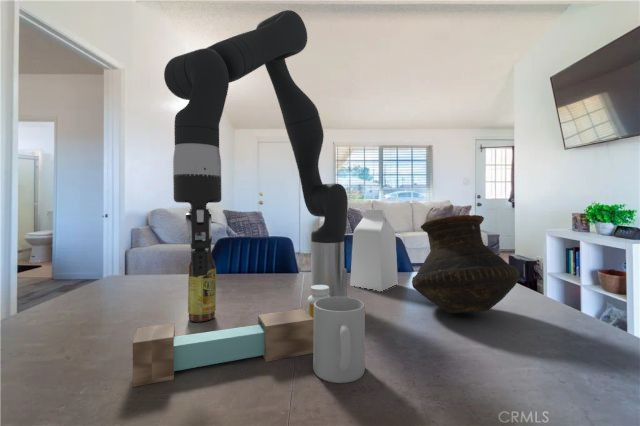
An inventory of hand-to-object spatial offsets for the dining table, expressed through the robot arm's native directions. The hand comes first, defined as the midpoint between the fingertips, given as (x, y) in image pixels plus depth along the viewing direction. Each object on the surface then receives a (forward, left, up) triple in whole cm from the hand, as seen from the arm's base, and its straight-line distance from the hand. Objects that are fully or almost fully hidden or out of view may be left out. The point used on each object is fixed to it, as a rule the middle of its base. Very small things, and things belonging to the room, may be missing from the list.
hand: (198, 270), depth 54 cm
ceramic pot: (-62, -2, -16) cm, 64 cm away
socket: (+7, 0, -16) cm, 17 cm away
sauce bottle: (-2, -24, -16) cm, 29 cm away
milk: (-58, -36, -16) cm, 70 cm away
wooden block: (-15, 0, -16) cm, 22 cm away
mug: (-21, +12, -16) cm, 29 cm away
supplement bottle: (-25, -6, -16) cm, 30 cm away
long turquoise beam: (-3, 0, -15) cm, 16 cm away
